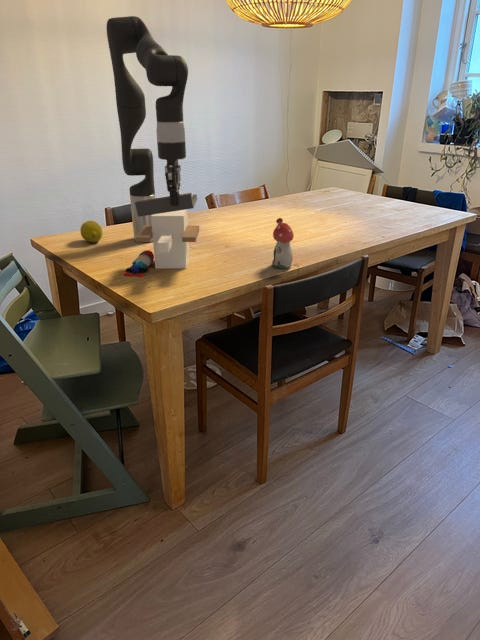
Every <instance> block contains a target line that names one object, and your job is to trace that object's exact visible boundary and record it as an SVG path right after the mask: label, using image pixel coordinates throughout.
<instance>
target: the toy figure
mask: <svg viewBox="0 0 480 640" xmlns="http://www.w3.org/2000/svg"><path fill="white" fill-rule="evenodd" d="M154 261H155V258H154V252H153V251H151V250H147V249H146V250H144V251H142V252H140V253H139V255H138V256H137V257H136V258H135V259H134V260H133V261H131V264H132V265H131V267H127V268H126V269H125V272H124V273H123V276H125V275H126V276H128V277H129V276H130V277H131V276H132V277H134V276H135V278H142V277H144V275H145V274H146V273H147V272H148V270H149V267H151V266H152V264H153V262H154ZM137 273H139V274H137ZM126 276H125V277H126Z"/></svg>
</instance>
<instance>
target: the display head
mask: <svg viewBox="0 0 480 640" xmlns="http://www.w3.org/2000/svg"><path fill="white" fill-rule="evenodd" d="M151 222H152V226H144V227H143V228H142V229H141V231H140V232H139V233H138V235H137V236H136V241H135V243H151V242H150V240H151V239H152V237H153V241H152V244H153V254H154V269H187V267H188V264H189V260H190V248H189V247H190V246H189V245H190V244H189V243H196V242H197V239H198V235H199V232H200V225H188V224H189V222H188V209H186V210H179V211H173V212H166V213H160V214H153V215H151Z"/></svg>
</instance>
